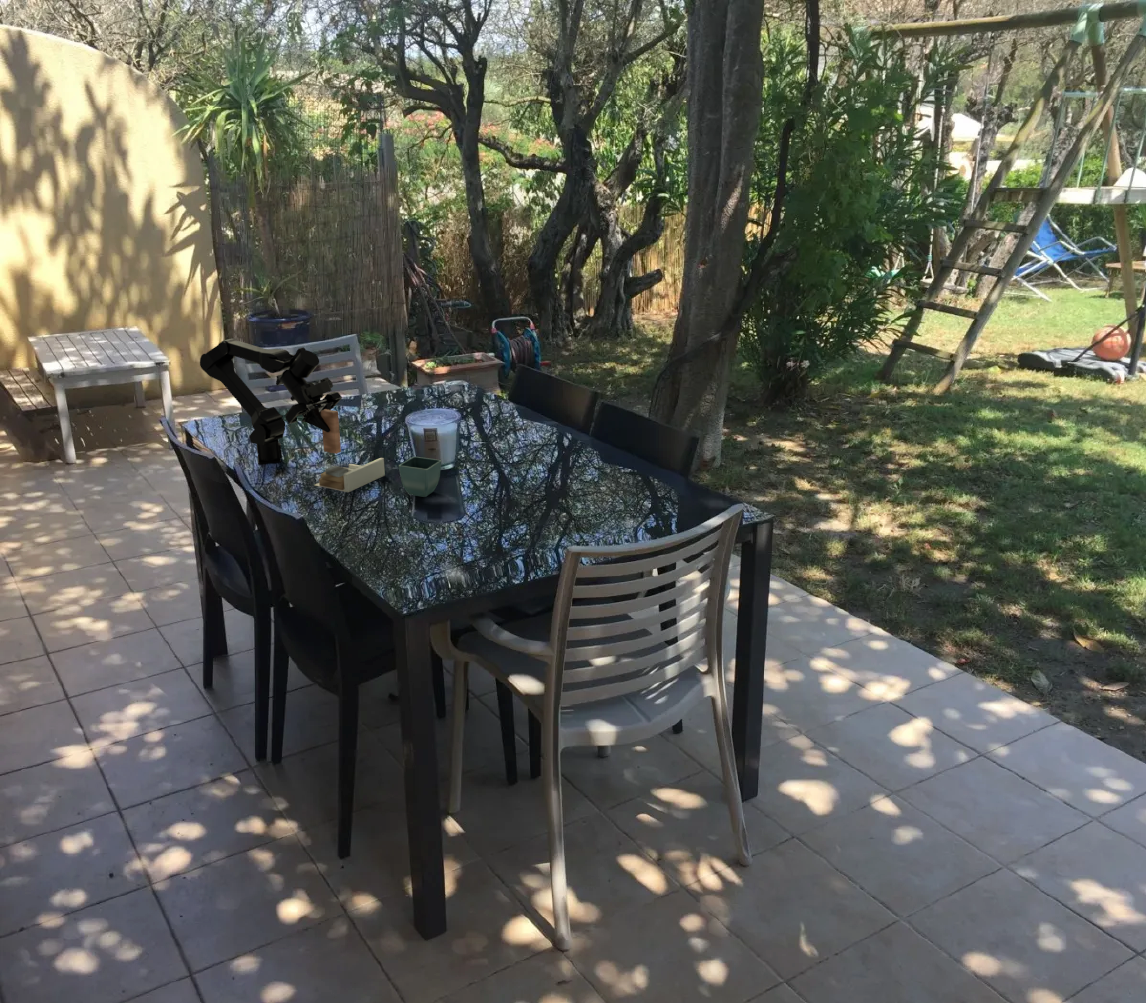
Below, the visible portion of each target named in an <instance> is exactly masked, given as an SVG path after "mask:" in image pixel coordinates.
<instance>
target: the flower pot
mask: <svg viewBox="0 0 1146 1003" xmlns="http://www.w3.org/2000/svg"><path fill="white" fill-rule="evenodd" d="M441 467H442V460H441V459H436V458H428V457H422V456H421V457H419V456H412V457H410V458H408V459H407V460H405V461H404V462H402V463H400V464H399V465H398V470H399V475H400V481H401V484H402V486H403V488H404V490H405V491H406V492H407V494H408V495H410V496H413V497H414V496H416V497H420V498H421V497H423V498H426V497H428V496H429V495H430V494H432V493H433V492H434V491H435V489H436V488H437V485H438V484H439V481H440V477H441Z"/></svg>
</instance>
